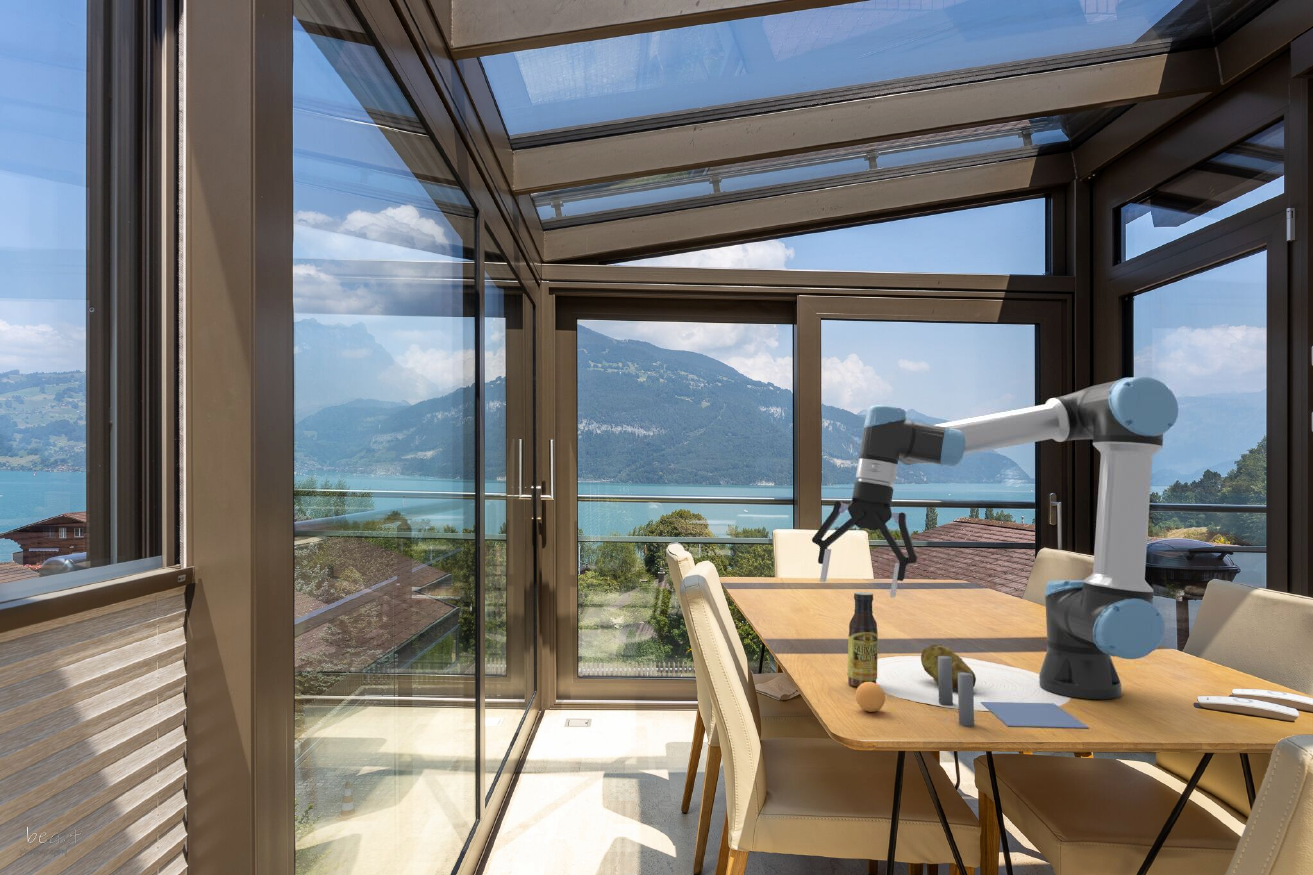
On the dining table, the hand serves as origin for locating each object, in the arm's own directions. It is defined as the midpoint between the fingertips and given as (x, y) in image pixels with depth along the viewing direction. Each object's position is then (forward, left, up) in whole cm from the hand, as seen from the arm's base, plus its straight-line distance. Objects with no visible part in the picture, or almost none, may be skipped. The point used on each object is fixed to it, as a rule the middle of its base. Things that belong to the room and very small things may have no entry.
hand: (857, 589), depth 145 cm
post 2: (-18, +8, -23) cm, 30 cm away
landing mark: (-32, +2, -23) cm, 39 cm away
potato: (-22, -17, -23) cm, 36 cm away
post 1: (-18, -5, -23) cm, 30 cm away
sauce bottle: (-4, -16, -23) cm, 29 cm away
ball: (-2, +2, -20) cm, 21 cm away
